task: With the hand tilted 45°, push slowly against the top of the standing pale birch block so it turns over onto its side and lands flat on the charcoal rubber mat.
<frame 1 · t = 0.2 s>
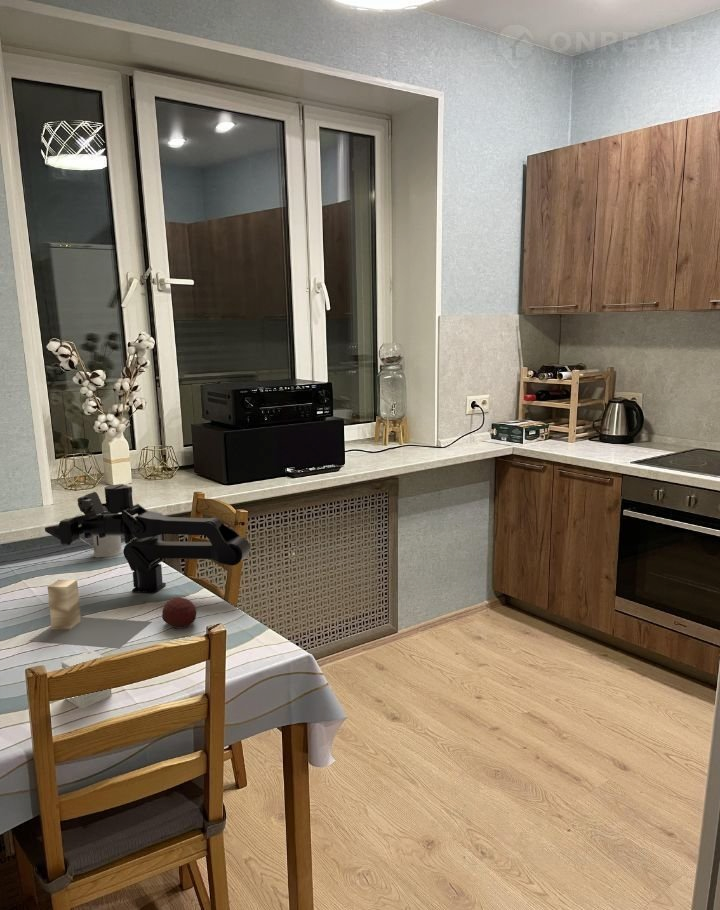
hand: (56, 525, 183), 16 cm above the table, tool horizontal, fingers open, 9 cm apart
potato: (180, 626, 157), on the table
birch block: (66, 625, 157), resting on charcoal rubber mat
product box: (88, 698, 125), on the table
glass holder: (99, 555, 211), on the table
charcoal rubber mat: (92, 632, 153), on the table
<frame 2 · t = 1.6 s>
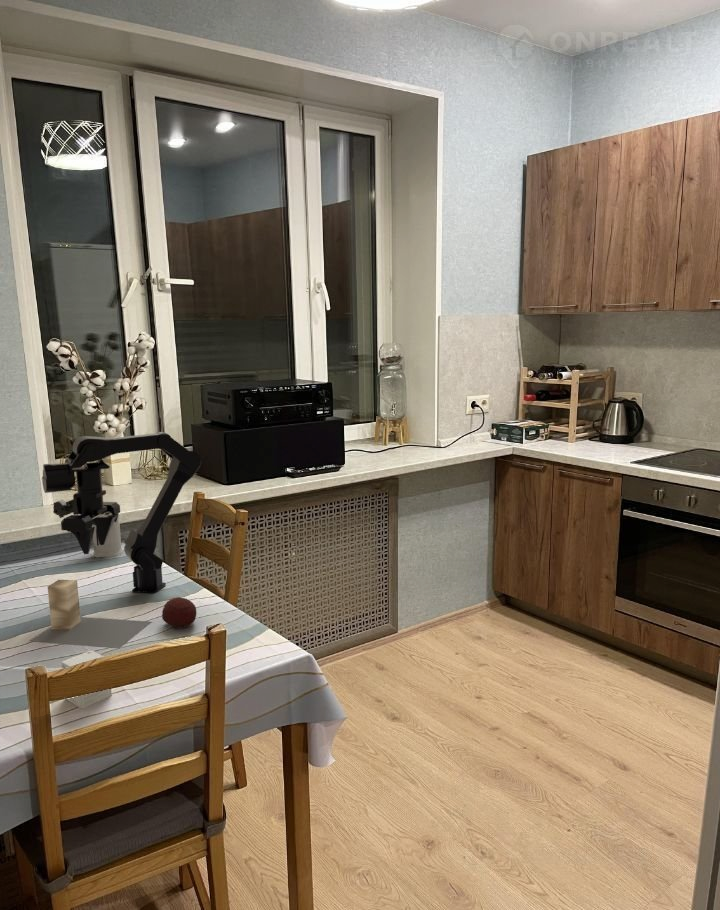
hand: (94, 549, 172), 13 cm above the table, tool pointing down, fingers open, 8 cm apart
nothing on the table moved.
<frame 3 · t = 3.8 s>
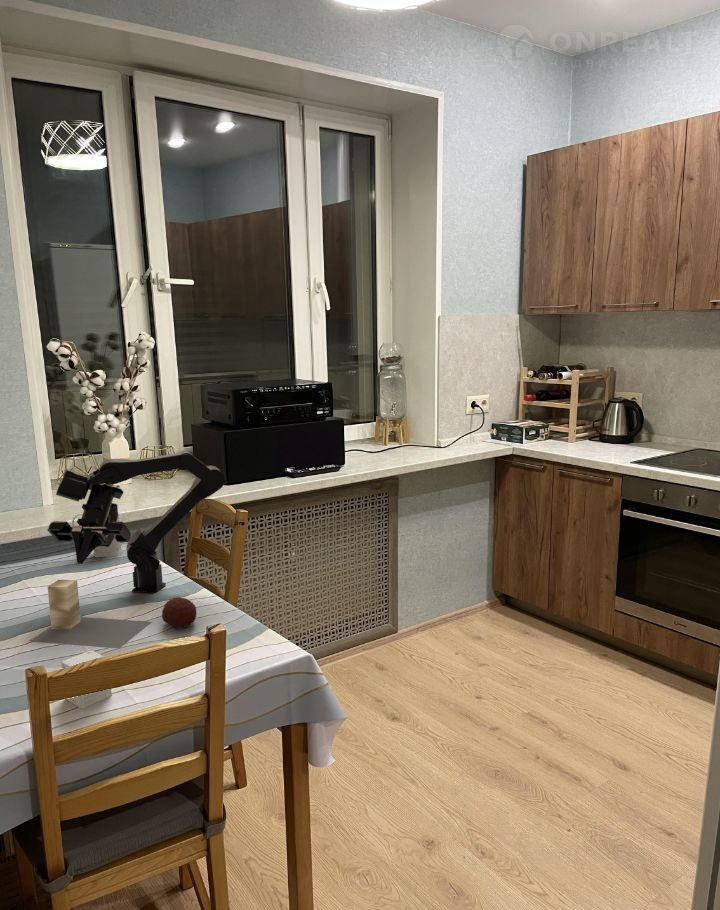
hand: (79, 563, 163), 12 cm above the table, tool tilted 45°, fingers closed
nothing on the table moved.
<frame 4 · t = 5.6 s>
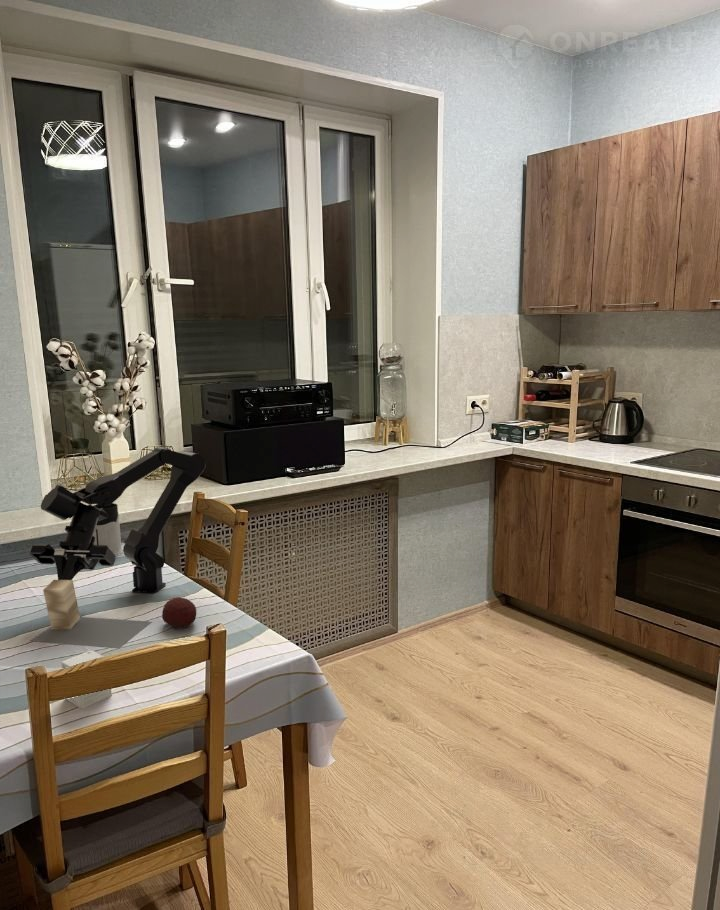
hand: (61, 588, 157), 9 cm above the table, tool tilted 45°, fingers closed
birch block: (66, 623, 157), point 1 cm above the table, tilted 10°, touching charcoal rubber mat
everything else where it was.
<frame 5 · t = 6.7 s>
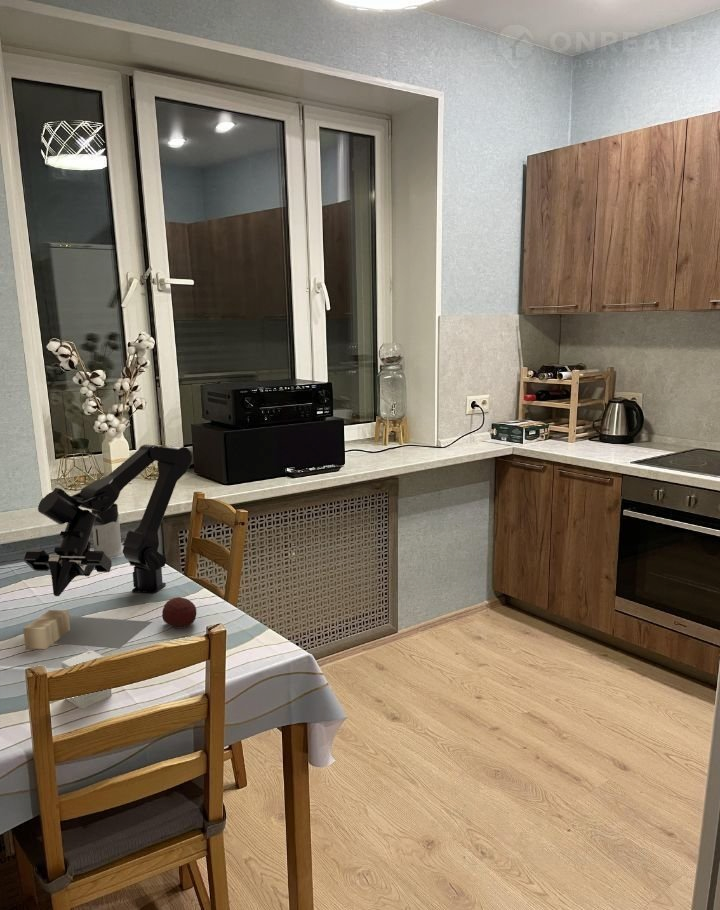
hand: (56, 595, 153), 9 cm above the table, tool tilted 45°, fingers closed
birch block: (60, 619, 154), point 3 cm above the table, tilted 90°, touching charcoal rubber mat
everything else where it was.
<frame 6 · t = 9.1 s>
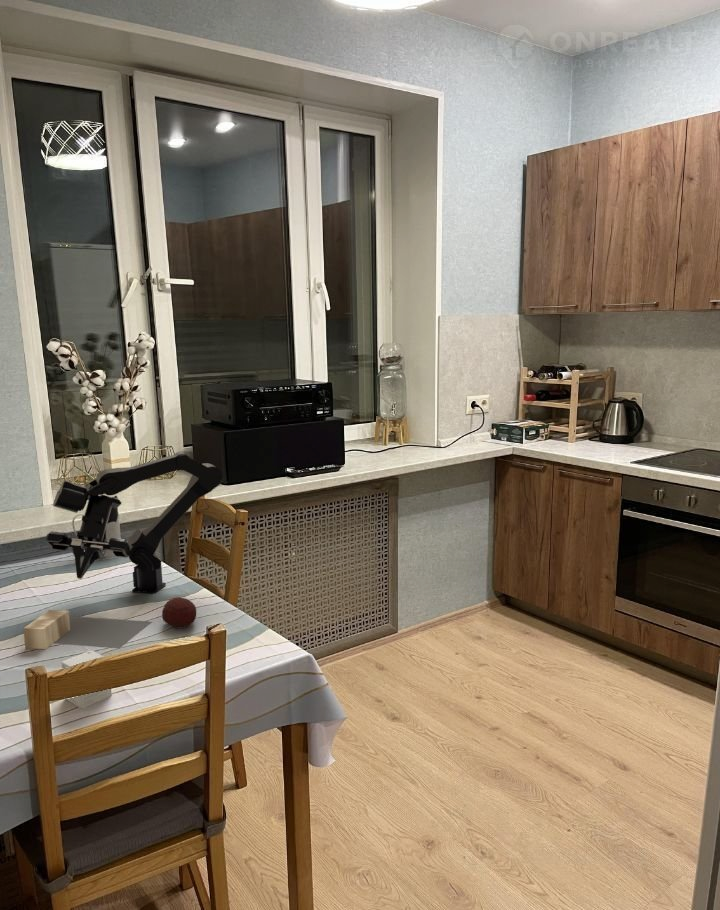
hand: (79, 578, 163), 9 cm above the table, tool tilted 40°, fingers closed
nothing on the table moved.
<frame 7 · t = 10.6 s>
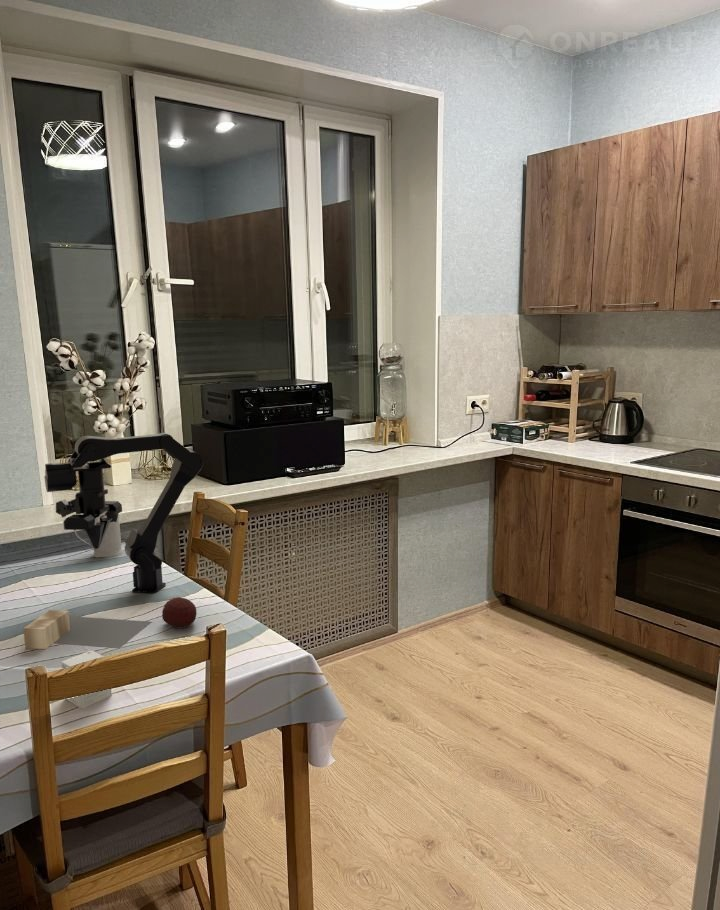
hand: (96, 548, 173), 13 cm above the table, tool pointing down, fingers closed
nothing on the table moved.
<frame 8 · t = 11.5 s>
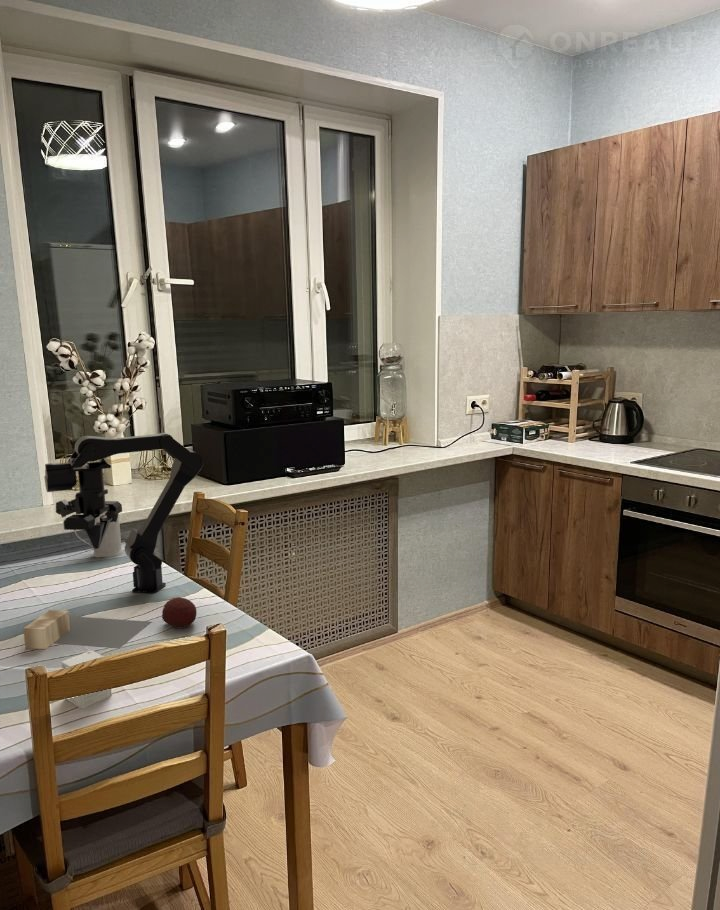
hand: (96, 548, 173), 13 cm above the table, tool pointing down, fingers closed
nothing on the table moved.
at the end: birch block tilted 90°; birch block inside the target area (3.0 cm from its centre), point 2.6 cm above the table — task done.
